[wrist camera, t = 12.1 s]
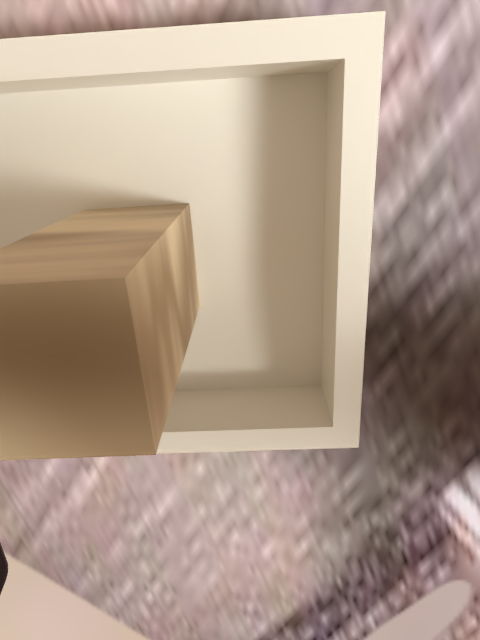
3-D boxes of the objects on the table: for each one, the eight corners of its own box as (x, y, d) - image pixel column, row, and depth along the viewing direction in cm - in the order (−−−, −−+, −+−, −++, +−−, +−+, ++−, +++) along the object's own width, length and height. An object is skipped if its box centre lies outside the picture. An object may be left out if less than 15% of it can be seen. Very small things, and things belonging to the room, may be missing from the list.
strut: (200, 304, 18) (155, 454, 9) (102, 309, 18) (-24, 461, 10) (189, 203, 16) (124, 277, 8) (82, 210, 16) (-89, 289, 8)
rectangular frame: (355, 37, 15) (385, 11, 11) (341, 396, 20) (358, 447, 17) (-110, 70, 15) (-206, 53, 12) (-1, 408, 21) (-47, 459, 18)
